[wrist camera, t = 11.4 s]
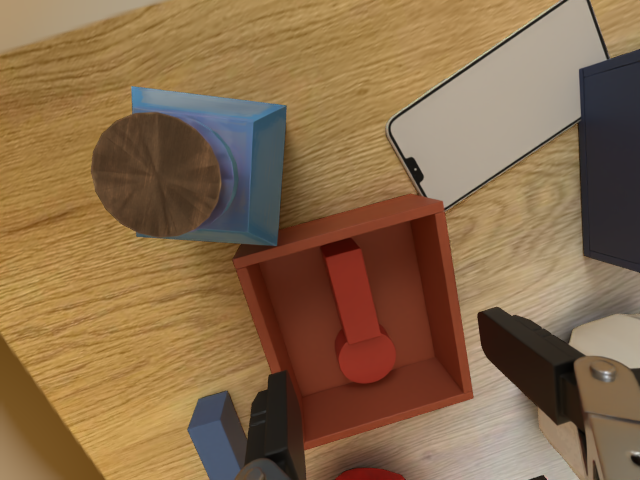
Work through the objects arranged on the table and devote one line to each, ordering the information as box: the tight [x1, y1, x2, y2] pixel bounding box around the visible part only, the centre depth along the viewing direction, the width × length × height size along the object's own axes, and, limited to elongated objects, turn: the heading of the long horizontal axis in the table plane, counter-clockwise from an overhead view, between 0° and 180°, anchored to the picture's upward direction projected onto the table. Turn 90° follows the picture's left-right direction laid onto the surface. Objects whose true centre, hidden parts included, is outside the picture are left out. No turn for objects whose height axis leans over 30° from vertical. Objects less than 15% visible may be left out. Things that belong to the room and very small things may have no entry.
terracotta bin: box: [232, 194, 473, 450], centre depth 20 cm, size 13×12×4 cm
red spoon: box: [320, 238, 396, 384], centre depth 21 cm, size 10×4×3 cm, turn 15°
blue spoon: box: [187, 391, 247, 480], centre depth 23 cm, size 10×4×3 cm, turn 14°
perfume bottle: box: [91, 86, 287, 246], centre depth 14 cm, size 6×6×12 cm
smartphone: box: [385, 0, 610, 212], centre depth 21 cm, size 7×1×15 cm
